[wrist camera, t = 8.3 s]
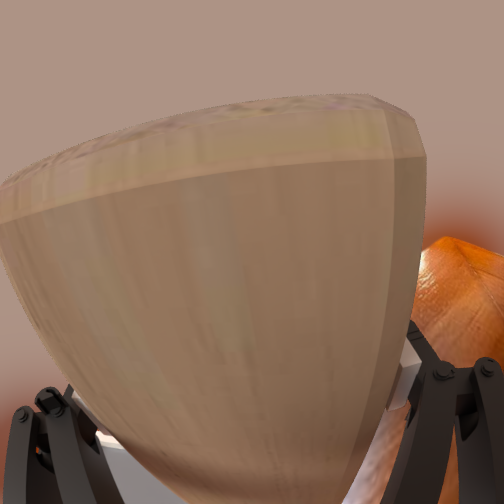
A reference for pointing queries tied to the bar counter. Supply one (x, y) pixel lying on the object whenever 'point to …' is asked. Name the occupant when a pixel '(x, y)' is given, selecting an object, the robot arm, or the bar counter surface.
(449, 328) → the bar counter surface
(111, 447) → the locating plate
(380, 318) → the wooden block
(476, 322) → the bar counter surface
